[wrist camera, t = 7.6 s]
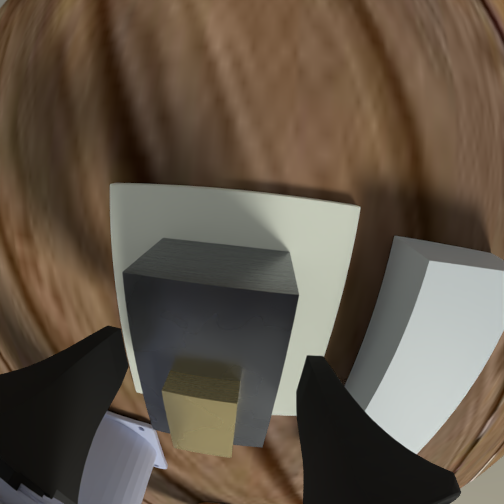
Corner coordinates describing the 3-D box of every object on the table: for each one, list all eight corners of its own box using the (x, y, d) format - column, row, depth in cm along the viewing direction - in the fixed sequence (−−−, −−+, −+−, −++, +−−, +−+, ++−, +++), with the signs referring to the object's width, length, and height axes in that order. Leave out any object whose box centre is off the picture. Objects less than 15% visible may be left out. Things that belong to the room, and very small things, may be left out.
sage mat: (139, 386, 14) (136, 392, 14) (115, 182, 10) (109, 183, 10) (301, 409, 14) (302, 415, 14) (356, 205, 10) (360, 207, 10)
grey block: (171, 380, 13) (147, 445, 9) (163, 237, 11) (105, 287, 6) (264, 393, 13) (261, 464, 9) (289, 251, 10) (303, 314, 6)
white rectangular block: (313, 447, 16) (319, 521, 10) (394, 235, 10) (492, 312, 4) (394, 439, 16) (412, 501, 10) (491, 253, 10) (571, 307, 4)
